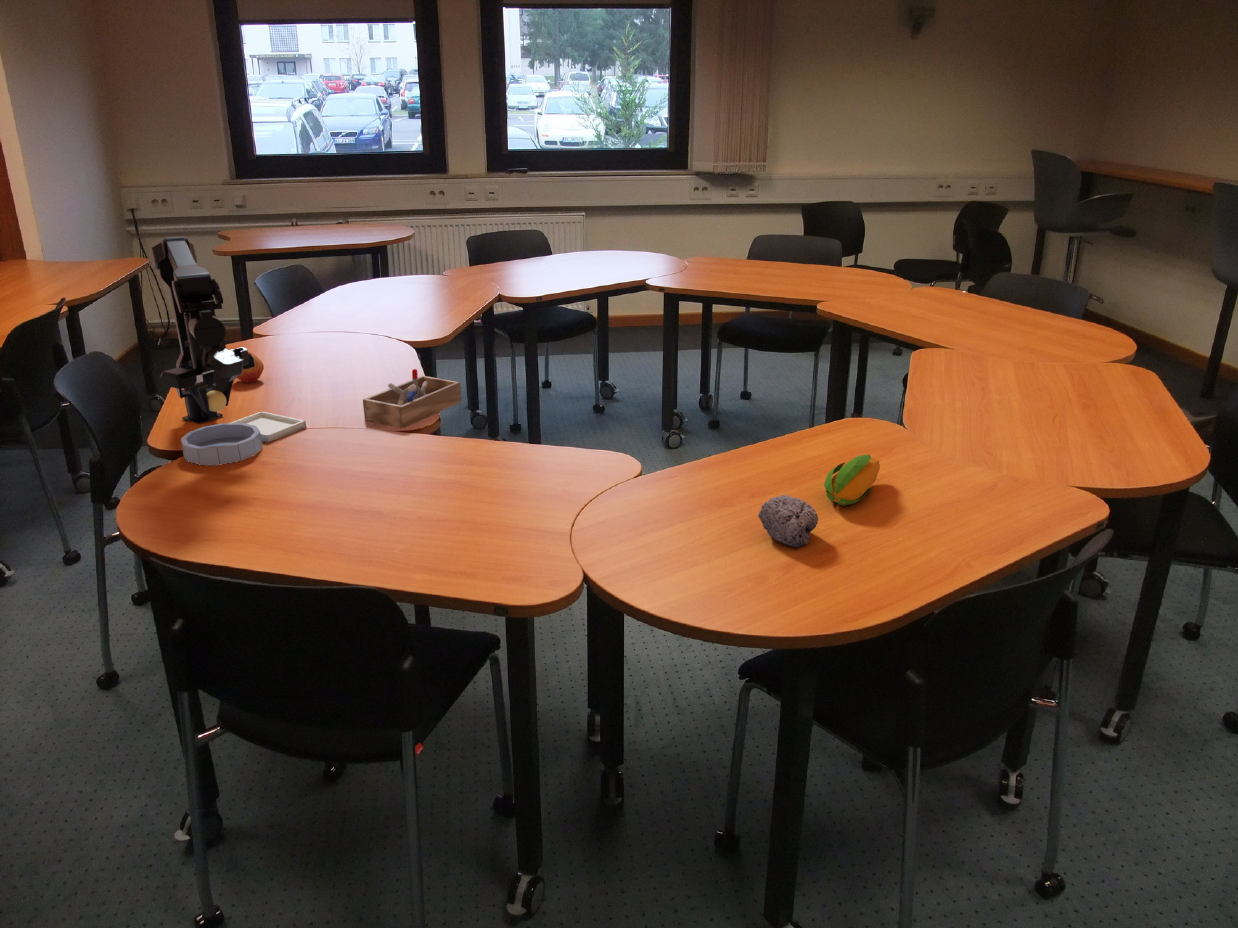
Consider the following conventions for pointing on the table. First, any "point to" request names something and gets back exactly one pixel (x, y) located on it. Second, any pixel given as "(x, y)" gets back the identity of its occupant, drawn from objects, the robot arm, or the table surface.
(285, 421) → the tray
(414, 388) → the molecular model
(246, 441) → the bowl
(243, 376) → the fruit
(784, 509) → the pumice stone
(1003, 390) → the table surface
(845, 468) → the corn
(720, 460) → the table surface
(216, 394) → the ball
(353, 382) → the table surface
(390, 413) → the wooden box
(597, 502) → the table surface
